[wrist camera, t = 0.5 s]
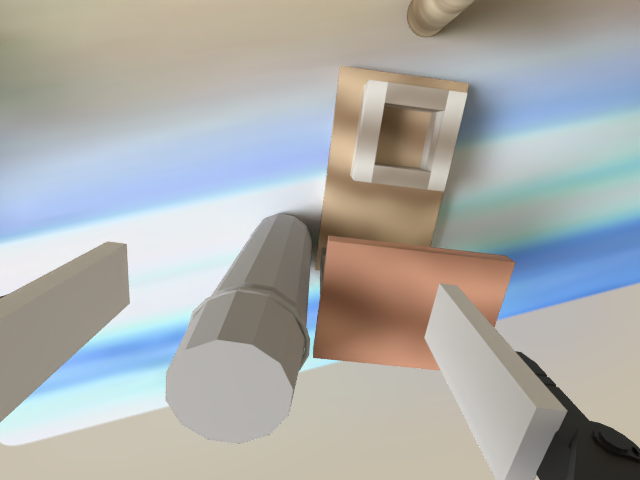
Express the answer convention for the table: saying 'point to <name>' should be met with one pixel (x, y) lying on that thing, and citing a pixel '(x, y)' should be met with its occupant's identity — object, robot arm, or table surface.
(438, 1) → the peg
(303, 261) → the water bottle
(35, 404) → the table surface
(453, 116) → the socket station
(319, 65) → the table surface
